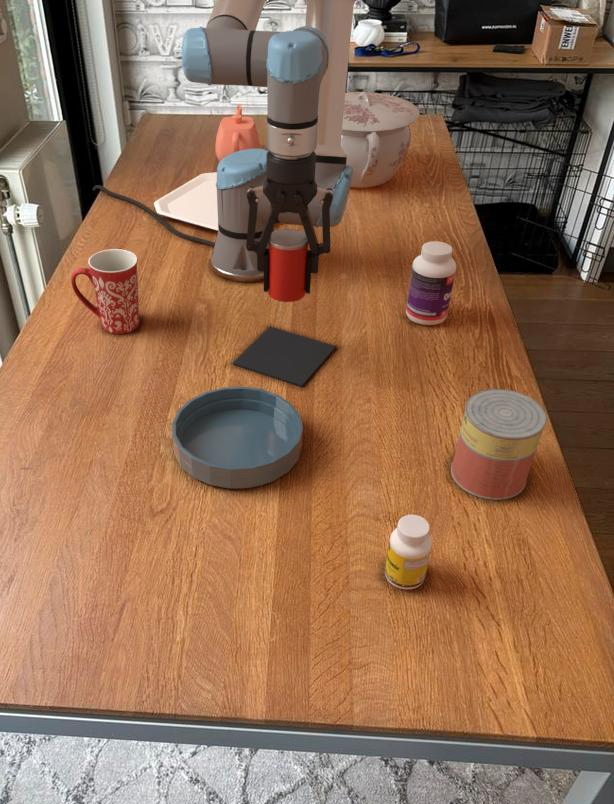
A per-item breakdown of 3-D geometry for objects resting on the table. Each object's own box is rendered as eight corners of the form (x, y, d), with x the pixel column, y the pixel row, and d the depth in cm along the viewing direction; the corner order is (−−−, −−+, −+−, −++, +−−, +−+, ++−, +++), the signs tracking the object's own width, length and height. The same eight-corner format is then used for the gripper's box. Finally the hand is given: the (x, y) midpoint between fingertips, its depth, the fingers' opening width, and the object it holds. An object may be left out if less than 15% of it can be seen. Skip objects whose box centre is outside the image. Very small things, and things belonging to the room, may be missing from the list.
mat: (232, 364, 141) (232, 362, 140) (269, 328, 150) (269, 326, 149) (302, 387, 136) (302, 385, 135) (335, 347, 144) (336, 346, 144)
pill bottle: (446, 330, 149) (459, 260, 139) (403, 325, 150) (414, 256, 140) (447, 308, 155) (460, 240, 145) (406, 304, 156) (416, 236, 146)
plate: (245, 246, 174) (245, 236, 173) (143, 217, 185) (142, 208, 184) (307, 200, 192) (308, 191, 190) (211, 175, 203) (210, 167, 202)
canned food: (477, 440, 125) (493, 379, 117) (540, 474, 119) (561, 412, 111) (436, 474, 119) (449, 412, 111) (499, 511, 113) (519, 449, 105)
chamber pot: (339, 150, 216) (345, 68, 202) (429, 172, 204) (442, 87, 190) (282, 183, 199) (284, 97, 185) (377, 210, 188) (386, 120, 173)
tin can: (259, 291, 134) (260, 236, 127) (288, 279, 137) (289, 224, 130) (285, 306, 130) (287, 250, 123) (314, 293, 133) (317, 238, 126)
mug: (146, 311, 154) (139, 247, 145) (143, 336, 148) (135, 271, 138) (82, 312, 154) (71, 248, 145) (76, 337, 147) (64, 272, 138)
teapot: (259, 176, 203) (259, 128, 195) (213, 175, 203) (212, 128, 195) (260, 147, 217) (260, 102, 209) (218, 147, 218) (216, 101, 209)
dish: (149, 442, 125) (146, 421, 122) (245, 393, 134) (244, 372, 131) (228, 510, 114) (228, 488, 111) (327, 451, 123) (329, 429, 120)
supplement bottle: (380, 561, 106) (388, 511, 100) (419, 558, 107) (430, 508, 100) (388, 592, 102) (397, 542, 96) (429, 589, 103) (441, 539, 96)
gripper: (224, 158, 115) (228, 297, 131) (356, 162, 114) (344, 301, 130) (229, 140, 121) (232, 275, 136) (355, 143, 119) (343, 279, 135)
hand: (287, 288), depth 133 cm, fingers closed on tin can, 6 cm apart
